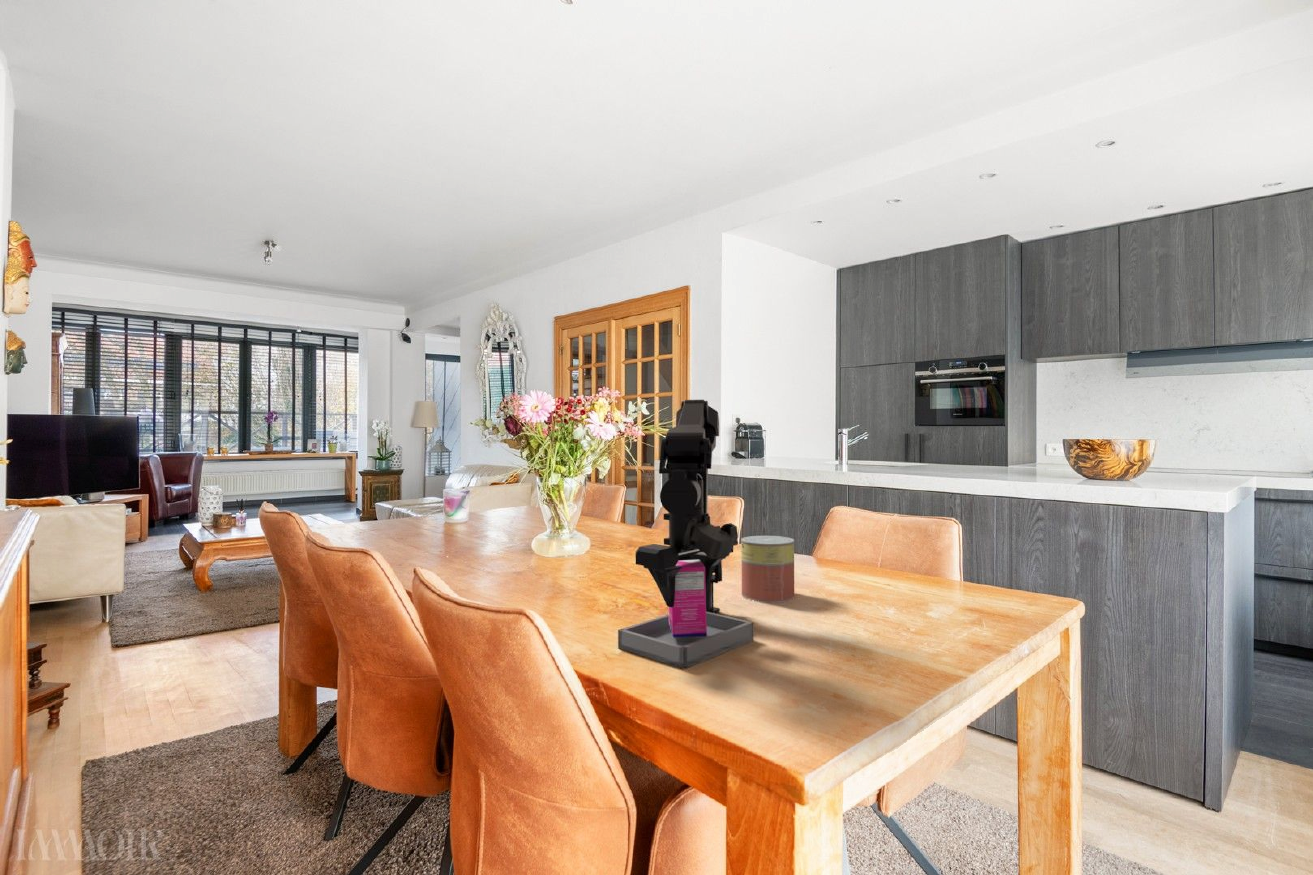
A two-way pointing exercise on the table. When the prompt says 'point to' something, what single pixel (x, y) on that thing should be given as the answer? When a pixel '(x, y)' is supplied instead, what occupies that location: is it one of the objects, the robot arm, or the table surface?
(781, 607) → the table surface
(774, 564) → the canned food
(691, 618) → the supplement box
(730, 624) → the tray
